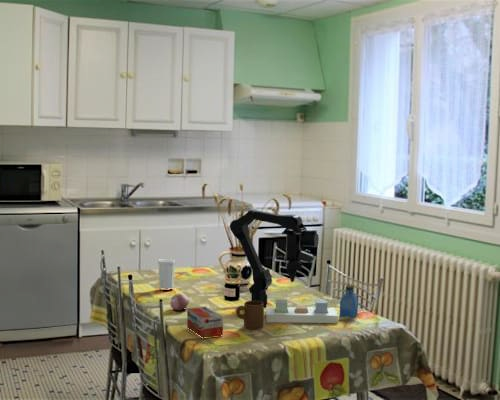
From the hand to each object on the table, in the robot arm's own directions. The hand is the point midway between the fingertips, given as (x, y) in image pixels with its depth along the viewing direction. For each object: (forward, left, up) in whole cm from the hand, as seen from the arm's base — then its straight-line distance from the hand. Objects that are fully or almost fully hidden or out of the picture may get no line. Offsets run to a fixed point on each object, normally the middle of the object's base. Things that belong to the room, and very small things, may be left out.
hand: (292, 281), depth 278 cm
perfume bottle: (+23, -7, -12) cm, 27 cm away
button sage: (-5, -13, -9) cm, 17 cm away
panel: (+3, -13, -12) cm, 18 cm away
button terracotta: (+3, -13, -11) cm, 17 cm away
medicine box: (-35, -33, -12) cm, 50 cm away
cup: (-57, +32, -12) cm, 67 cm away
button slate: (+11, -13, -9) cm, 19 cm away
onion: (-47, -3, -12) cm, 49 cm away
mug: (-18, -27, -12) cm, 35 cm away
